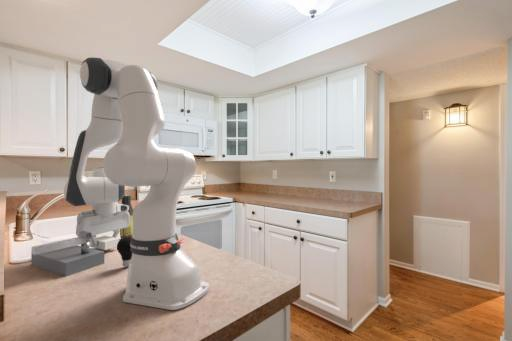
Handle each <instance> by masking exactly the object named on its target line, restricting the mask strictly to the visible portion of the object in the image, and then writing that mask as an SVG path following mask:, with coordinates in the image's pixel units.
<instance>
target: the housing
mask: <svg viewBox="0 0 512 341" xmlns="http://www.w3.org/2000/svg"><path fill="white" fill-rule="evenodd" d="M103 264H105V250H101V249H97V248H92V247H89V253H87V254H81V245H76V246H71V247H67V248H62V249H58V250H54V251H49V252H45V253H40V254H36V255H33V254H32V252H31V266H34V267H37V268H39V269H43V270H46V271H49V272H53V273H54V274H59V275H61V276H64V277H67V276H72V275H73V274H77V273H81V272H83V271H86V270H89V269H91V268H94V267H97V266H100V265H103Z"/></svg>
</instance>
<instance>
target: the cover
mask: <svg viewBox="0 0 512 341" xmlns="http://www.w3.org/2000/svg"><path fill="white" fill-rule="evenodd" d="M95 239H96V241H99V245H98V246H95V247H94V246H92V241H91V239H90V242H89V248H92V249H97V250H101V251H107V250H110V249H114V248H117V244H118V242H119V241H120V237H117V238H115V237H112V236H109V235H102V236H96V238H95Z"/></svg>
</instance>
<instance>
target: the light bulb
mask: <svg viewBox="0 0 512 341" xmlns="http://www.w3.org/2000/svg"><path fill="white" fill-rule="evenodd" d="M130 243H131V237H124V238H122V239H121V238H120V239H119V242H118V244H117V247H116V250H117V252H118V253H119V255H120V256H121V260H122V266H123V267H125V268H129V264H130V261H131V257H132V252H131V246H130Z"/></svg>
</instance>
